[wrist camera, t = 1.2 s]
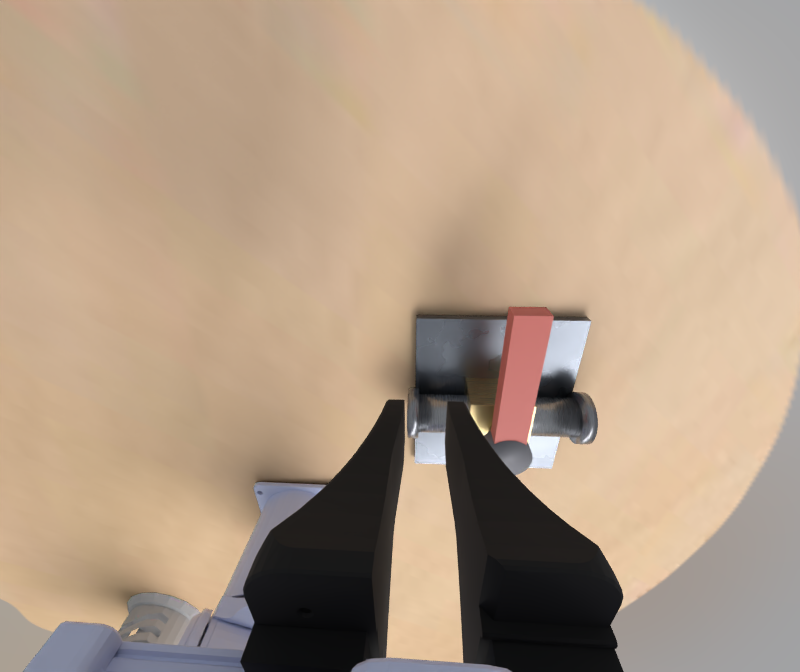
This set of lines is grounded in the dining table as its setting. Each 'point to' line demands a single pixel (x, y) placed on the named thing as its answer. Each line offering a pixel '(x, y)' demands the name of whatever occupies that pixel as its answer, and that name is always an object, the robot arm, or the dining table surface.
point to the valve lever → (519, 384)
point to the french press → (156, 619)
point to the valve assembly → (495, 383)
